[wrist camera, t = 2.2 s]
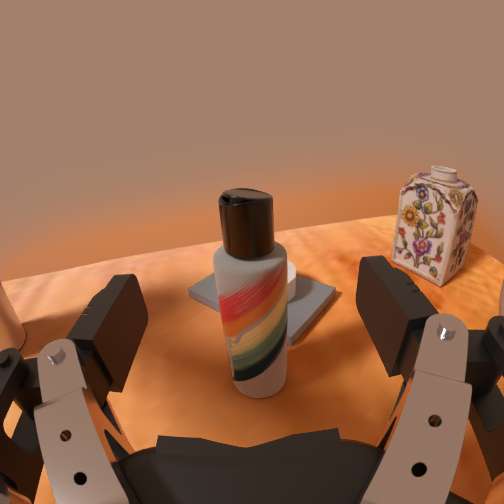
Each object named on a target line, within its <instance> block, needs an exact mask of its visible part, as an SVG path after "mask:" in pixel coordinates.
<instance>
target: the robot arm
mask: <svg viewBox="0 0 504 504" xmlns="http://www.w3.org/2000/svg"><path fill="white" fill-rule="evenodd" d="M356 305H357V309H358V312H359V314H360V316H361V318H362V320H363V322H364V324H365V326H366V328H367V330H368V332H369V334H370V336H371V338H372V341H373V343H374V345H375V347H376V349H377V351H378V353H379V356H380V358H381V360H382V362H383V364H384V367H385V369H386V371H387V373H388V376H389V377H392V376H396V375H400V374H402V377H403V379H404V380H403V382H402V384H401V387H400V390H399V392H398V395H397V398H396V400H395V403H394V405H393V408H392V410H391V413H390V415H389V418H388V420H387V422H386V425H385V427H384V429H383V431H382V433H381V435H380V437H379V439H378V441H377V443H376V445H375V446H373V445H370V444H367V443H364V442H359V441H355V440H348V439H340V436H339V431H338V428H335V429H329V430H323V431H316V432H309V433H301V434H293V435H290V436H287V437H284V438H281V439H277V440H274V441H271V442H267V443H264V444H260V445H257V446H253V447H248V448H243V447H237V446H232V445H227V444H223V443H218V442H214V441H210V440H206V439H202V438H188V437H172V436H160V435H158V439H157V444H156V447H151V448H147V449H142V450H140V451H137V452H135V450H134V449H133V447H132V446H131V444H130V443H129V441H128V439H127V437H126V435H125V433H124V431H123V429H122V427H121V425H120V423H119V421H118V419H117V417H116V414H115V412H114V410H113V408H112V406H111V403H110V401H109V400H108V398H107V395H108V393H109V391H112V392H121V393H122V391H123V388H124V385H125V382H126V380H127V377H128V374H129V371H130V368H131V366H132V363H133V360H134V357H135V355H136V352H137V349H138V347H139V344H140V342H141V339H142V336H143V334H144V331H145V329H146V326H147V322H148V313H147V308H146V305H145V302H144V299H143V296H142V293H141V289H140V286H139V283H138V280H137V277H136V276H135V275H134V274H124V275H114V276H113V277H112V279H111V280H110V282H109V283H108V285H107V286H106V288H105V289H102V290H101V291H100V292H99V293H97V294H96V295H95V296H94V297H93V298H92V300H91V301H90V302H89V304H88V305H87V308H85V310H84V311H83V313H82V314H83V315H81V316H80V317H79V319H78V320H77V322H76V324H75V325H74V327H73V328H72V330H71V331H70V333H69V335H68V336H67V338H66V339H58V340H54V341H52V342H50V343H49V344H47V345H46V346H45V347H44V348H43V349H42V350H41V351H40V353H39V355H38V357H37V358H31V359H25V360H24V358H23V357H22V355H21V354H20V352H19V349H20V348H21V347H22V345H23V344H24V341H25V338H26V332H25V330H24V328H23V326H22V324H21V323H20V321H19V319H18V317H17V315H16V313H15V311H14V309H13V307H12V305H11V303H10V301H9V299H8V297H7V295H6V292H5V290H4V288H3V286H2V284H1V281H0V504H34V500H35V496H36V492H37V488H38V484H39V480H40V476H41V472H42V469H43V465H44V464H45V468H46V471H47V475H48V478H49V482H50V485H51V488H52V491H53V494H54V497H55V500H56V502H57V504H473V503H471V502H469V501H467V500H466V499H464V498H462V497H460V496H458V495H456V494H454V493H453V492H451V491H449V490H450V488H451V484H452V481H453V478H454V475H455V472H456V468H457V465H458V461H459V457H460V453H461V449H462V445H463V440H464V436H465V431H466V426H467V420H468V418H469V420H470V423H471V425H472V428H473V430H474V432H475V435H476V437H477V440H478V442H479V445H480V448H481V450H482V453H483V456H484V458H485V461H486V464H487V467H488V470H489V473H490V476H491V479H492V482H493V483H492V485H491V488H490V493H489V494H488V495H487V497H486V499H485V504H504V397H503V395H502V393H501V391H500V390H499V388H498V386H497V384H496V383H497V382H498V380H499V379H500V377H501V376H502V375H503V377H504V316H495V317H492V318H491V319H490V321H489V323H488V325H487V327H486V329H485V330H468V329H467V327H466V325H465V324H464V323H463V322H462V321H461V320H460V319H458V318H456V317H454V316H452V315H449V314H439V313H438V311H437V310H436V309H435V308H434V306H433V305H432V304H431V302H430V301H429V300H428V299H427V297H426V296H425V295H424V294H423V293H422V291H421V292H420V289H419V288H418V286H417V285H416V284H414V282H413V280H412V279H411V278H410V277H409V276H408V274H406V273H404V272H403V271H401V270H399V269H398V268H393V267H392V266H391V265H390V263H389V262H388V261H387V260H386V259H385V257H384V256H382V255H380V256H369V257H362V258H361V261H360V266H359V275H358V283H357V291H356ZM12 401H14V402H15V403H16V404H17V406H18V407H19V408H20V409H21V410H22V414H21V416H20V418H19V421H18V423H17V426H16V428H15V431H14V433H13V436H12V438H11V439H10V438H9V437H8V436H7V435H6V433H5V431H4V427H3V422H4V419H5V417H6V414H7V412H8V410H9V408H10V406H11V404H12Z"/></svg>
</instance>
